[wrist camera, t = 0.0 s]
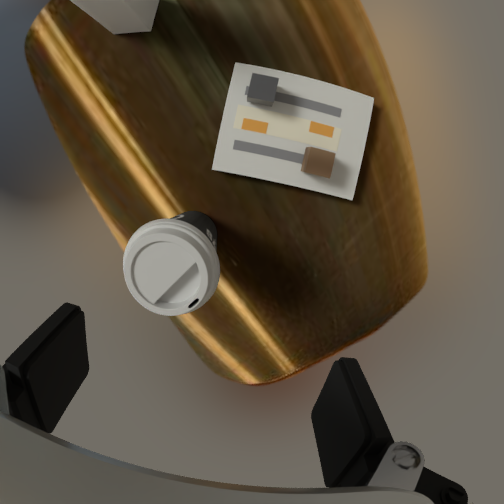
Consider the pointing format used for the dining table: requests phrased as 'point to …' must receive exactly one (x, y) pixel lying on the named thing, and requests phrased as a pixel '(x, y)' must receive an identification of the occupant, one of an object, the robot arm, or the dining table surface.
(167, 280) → the coffee cup
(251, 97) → the dark gray slider
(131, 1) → the milk
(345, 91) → the switch panel
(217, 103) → the dining table surface
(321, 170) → the walnut slider
